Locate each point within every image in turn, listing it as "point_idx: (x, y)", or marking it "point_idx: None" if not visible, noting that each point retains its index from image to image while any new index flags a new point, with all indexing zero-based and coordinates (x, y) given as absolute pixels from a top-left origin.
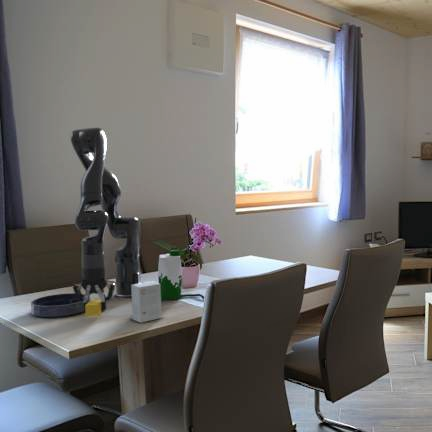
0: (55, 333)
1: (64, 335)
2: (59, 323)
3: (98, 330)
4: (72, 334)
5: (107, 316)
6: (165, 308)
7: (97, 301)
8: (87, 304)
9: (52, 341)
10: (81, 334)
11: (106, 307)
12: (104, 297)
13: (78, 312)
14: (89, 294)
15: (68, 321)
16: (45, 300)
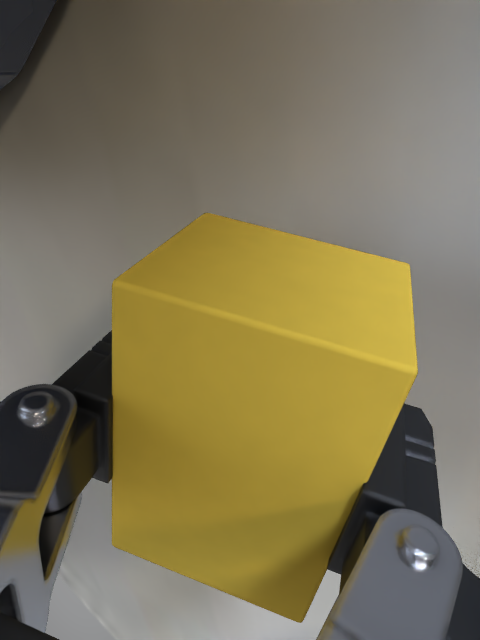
0: (72, 535)
1: (133, 589)
2: (3, 339)
3: (321, 628)
4: (171, 599)
5: (436, 300)
6: None
7: (261, 442)
8: (130, 532)
9: (105, 626)
10: (222, 626)
11: (430, 439)
12: (407, 607)
13: (33, 38)
14: (24, 610)
15: (50, 311)
16: None
